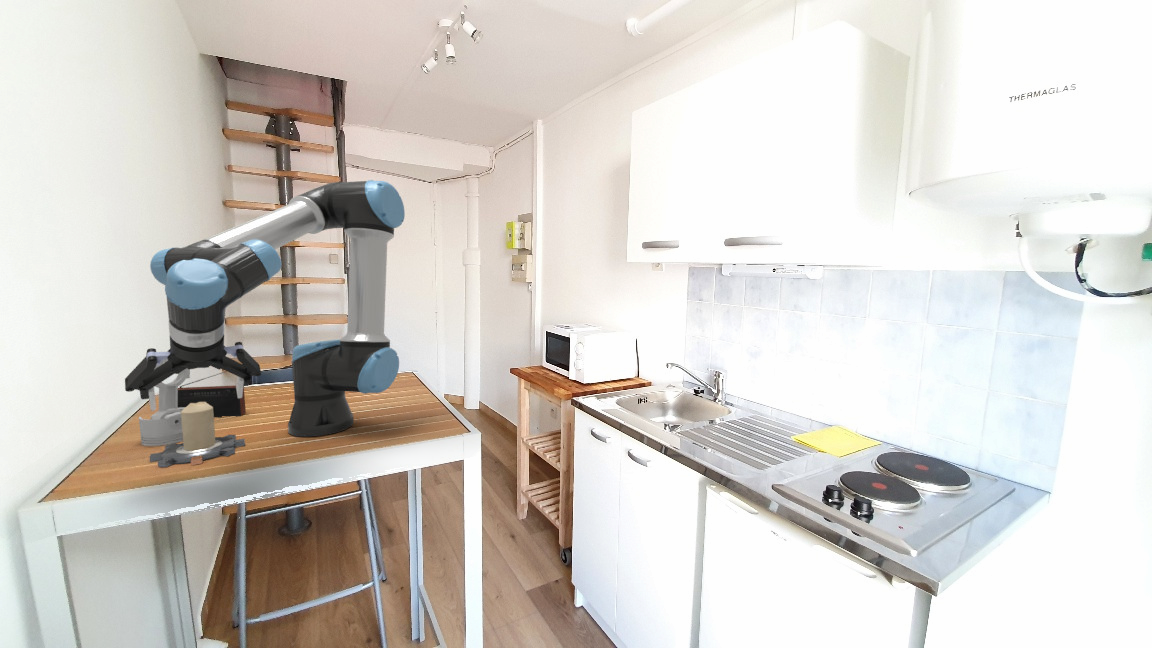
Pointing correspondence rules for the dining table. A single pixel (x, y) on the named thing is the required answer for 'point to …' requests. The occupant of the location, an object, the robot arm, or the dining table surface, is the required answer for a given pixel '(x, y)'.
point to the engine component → (165, 415)
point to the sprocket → (196, 452)
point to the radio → (214, 398)
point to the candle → (198, 426)
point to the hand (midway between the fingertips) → (198, 398)
